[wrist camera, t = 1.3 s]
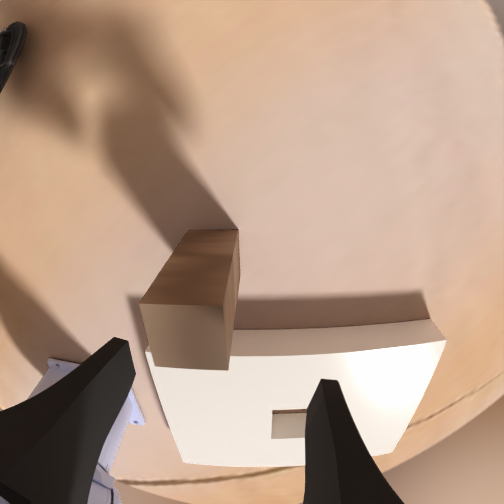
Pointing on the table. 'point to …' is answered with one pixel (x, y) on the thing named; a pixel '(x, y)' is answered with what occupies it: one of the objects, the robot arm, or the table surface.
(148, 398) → the table surface
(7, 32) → the milk frother
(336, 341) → the socket base
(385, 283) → the table surface
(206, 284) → the walnut peg
